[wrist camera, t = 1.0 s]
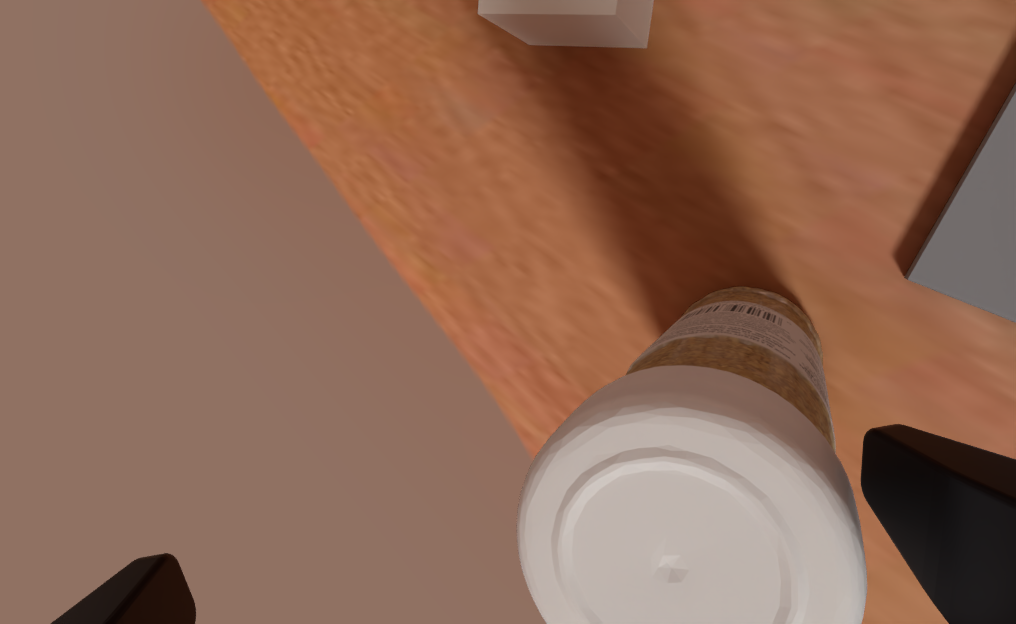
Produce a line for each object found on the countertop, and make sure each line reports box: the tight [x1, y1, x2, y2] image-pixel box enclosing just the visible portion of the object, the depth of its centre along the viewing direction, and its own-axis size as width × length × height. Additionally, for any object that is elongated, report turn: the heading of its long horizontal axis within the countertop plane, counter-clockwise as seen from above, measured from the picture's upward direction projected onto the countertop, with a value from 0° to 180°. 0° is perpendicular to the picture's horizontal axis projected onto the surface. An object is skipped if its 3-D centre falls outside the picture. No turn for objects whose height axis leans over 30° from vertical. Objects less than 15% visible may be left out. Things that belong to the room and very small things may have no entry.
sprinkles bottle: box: [517, 286, 867, 624], centre depth 14 cm, size 5×5×13 cm
